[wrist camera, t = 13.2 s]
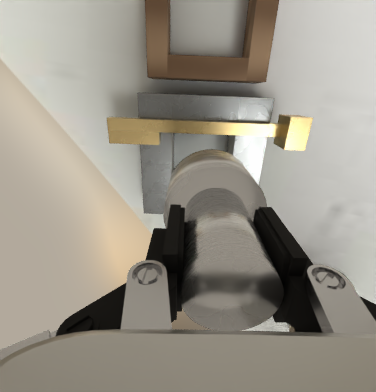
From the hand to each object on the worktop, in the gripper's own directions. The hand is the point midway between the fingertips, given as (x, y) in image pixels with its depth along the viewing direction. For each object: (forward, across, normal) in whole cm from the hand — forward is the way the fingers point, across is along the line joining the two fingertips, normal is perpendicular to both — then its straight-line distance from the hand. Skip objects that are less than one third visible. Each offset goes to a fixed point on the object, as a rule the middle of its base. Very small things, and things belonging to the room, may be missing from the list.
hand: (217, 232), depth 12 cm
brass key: (+15, 0, -3) cm, 15 cm away
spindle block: (+19, 0, +1) cm, 19 cm away
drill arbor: (+5, 0, 0) cm, 5 cm away
